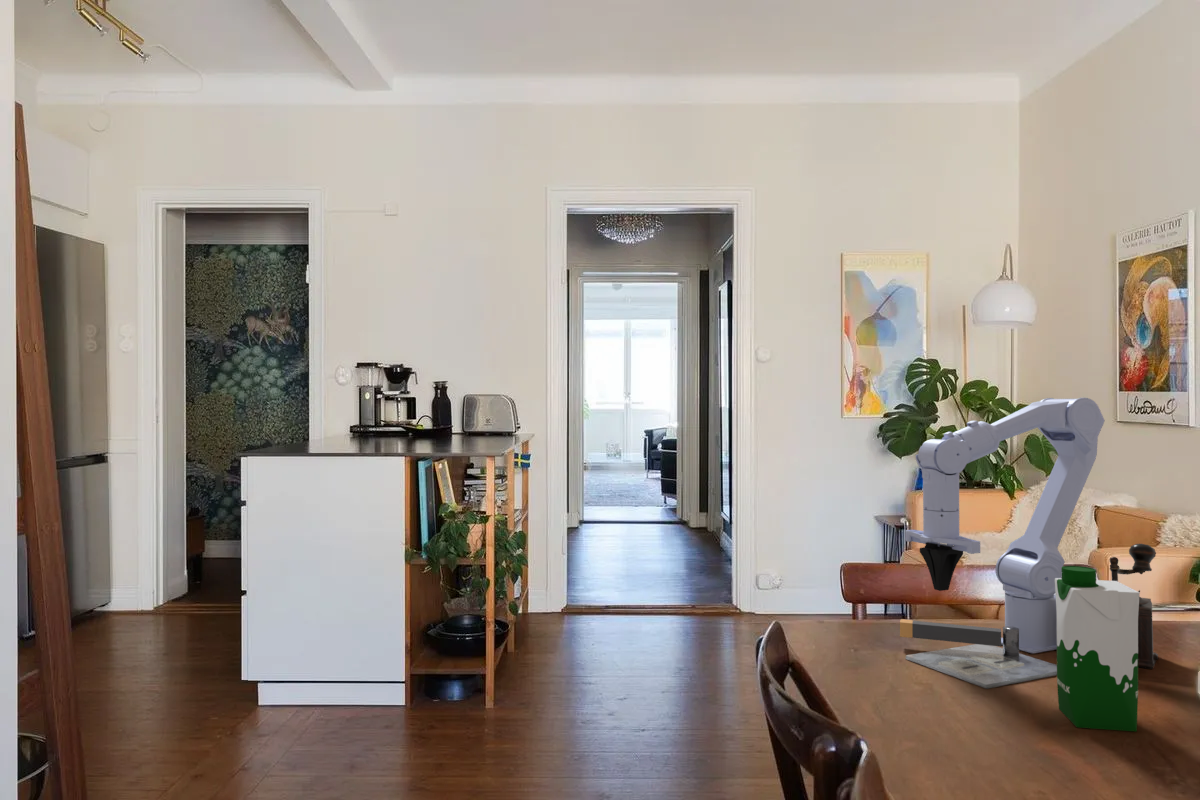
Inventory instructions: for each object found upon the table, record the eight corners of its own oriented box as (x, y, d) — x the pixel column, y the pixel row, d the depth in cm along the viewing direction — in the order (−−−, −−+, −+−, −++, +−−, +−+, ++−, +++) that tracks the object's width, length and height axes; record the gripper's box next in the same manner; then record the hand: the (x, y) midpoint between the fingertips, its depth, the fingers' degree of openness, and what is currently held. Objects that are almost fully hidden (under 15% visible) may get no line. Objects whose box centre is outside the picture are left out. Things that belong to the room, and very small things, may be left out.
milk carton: (1049, 706, 117) (1048, 561, 117) (1121, 710, 115) (1120, 564, 115) (1071, 730, 108) (1070, 574, 109) (1149, 735, 107) (1148, 577, 107)
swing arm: (1000, 643, 141) (1000, 628, 141) (1001, 647, 139) (1001, 631, 139) (900, 633, 147) (900, 619, 147) (900, 636, 145) (899, 622, 145)
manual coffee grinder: (1158, 671, 133) (1158, 556, 133) (1078, 659, 139) (1077, 550, 139) (1156, 647, 146) (1156, 543, 146) (1083, 637, 152) (1082, 537, 152)
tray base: (984, 646, 146) (984, 617, 146) (1069, 672, 132) (1069, 640, 132) (905, 659, 139) (905, 628, 139) (986, 688, 124) (986, 654, 124)
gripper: (892, 506, 149) (892, 583, 148) (958, 515, 135) (958, 600, 135) (922, 504, 151) (922, 580, 151) (989, 513, 138) (989, 596, 138)
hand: (941, 589), depth 143 cm, fingers closed
